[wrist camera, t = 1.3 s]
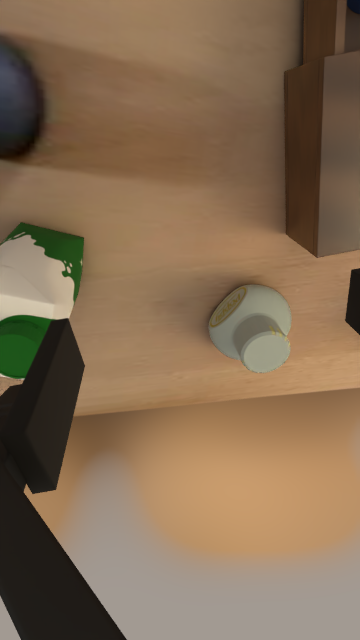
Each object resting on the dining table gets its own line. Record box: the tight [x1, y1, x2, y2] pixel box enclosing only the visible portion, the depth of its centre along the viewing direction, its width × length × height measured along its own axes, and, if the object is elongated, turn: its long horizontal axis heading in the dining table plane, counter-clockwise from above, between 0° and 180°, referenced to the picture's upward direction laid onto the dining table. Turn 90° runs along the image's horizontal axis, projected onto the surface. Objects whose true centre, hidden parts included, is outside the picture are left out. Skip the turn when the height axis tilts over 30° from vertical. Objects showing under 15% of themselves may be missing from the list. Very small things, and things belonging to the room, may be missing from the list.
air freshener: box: [209, 284, 292, 373], centre depth 44 cm, size 11×8×10 cm
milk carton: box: [0, 222, 84, 380], centre depth 33 cm, size 9×9×20 cm
